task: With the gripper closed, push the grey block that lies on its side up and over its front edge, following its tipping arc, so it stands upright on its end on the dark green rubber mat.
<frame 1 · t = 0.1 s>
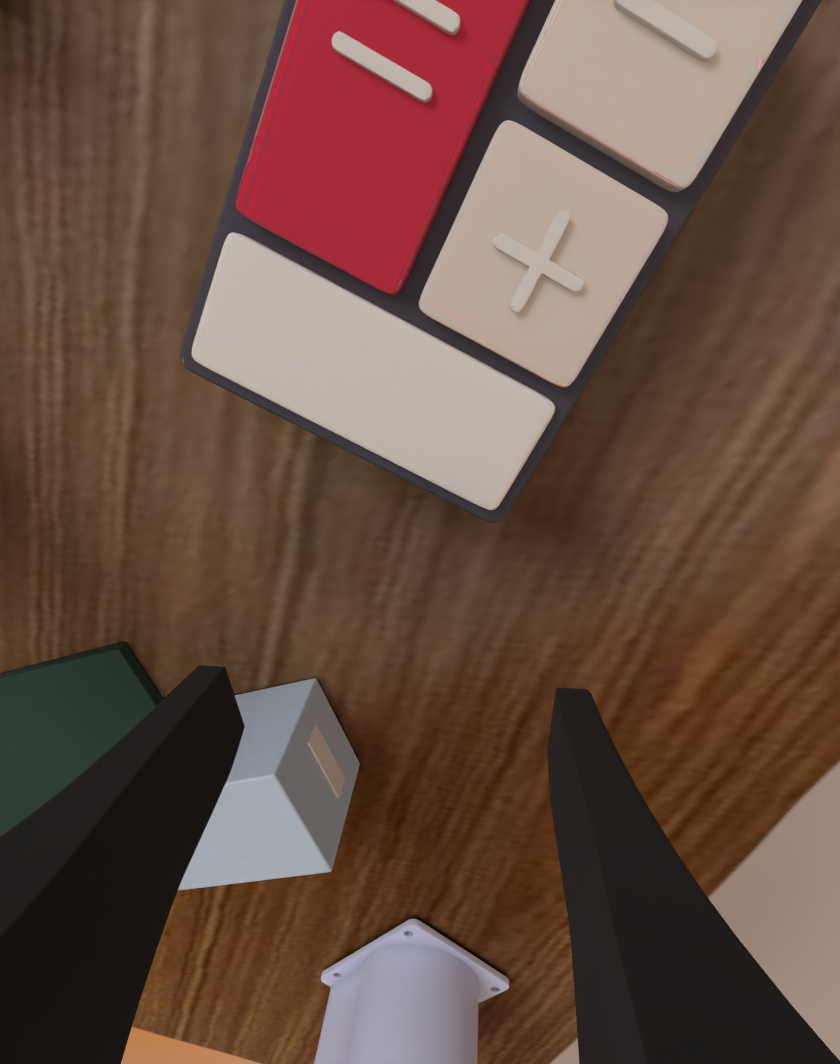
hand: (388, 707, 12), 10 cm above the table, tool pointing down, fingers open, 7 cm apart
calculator: (461, 211, 17), on the table
grey block: (244, 782, 25), point 3 cm above the table
rubber mat: (45, 778, 31), on the table
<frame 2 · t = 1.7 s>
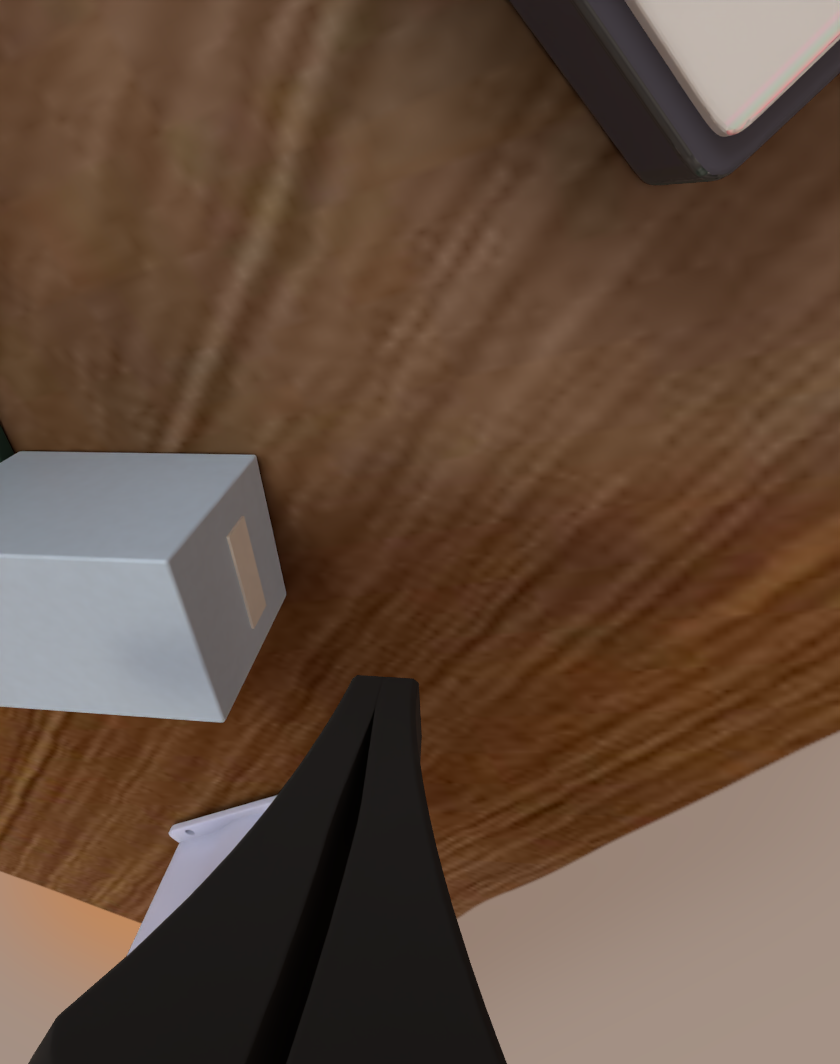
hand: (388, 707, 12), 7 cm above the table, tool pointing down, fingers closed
grey block: (114, 576, 16), point 3 cm above the table
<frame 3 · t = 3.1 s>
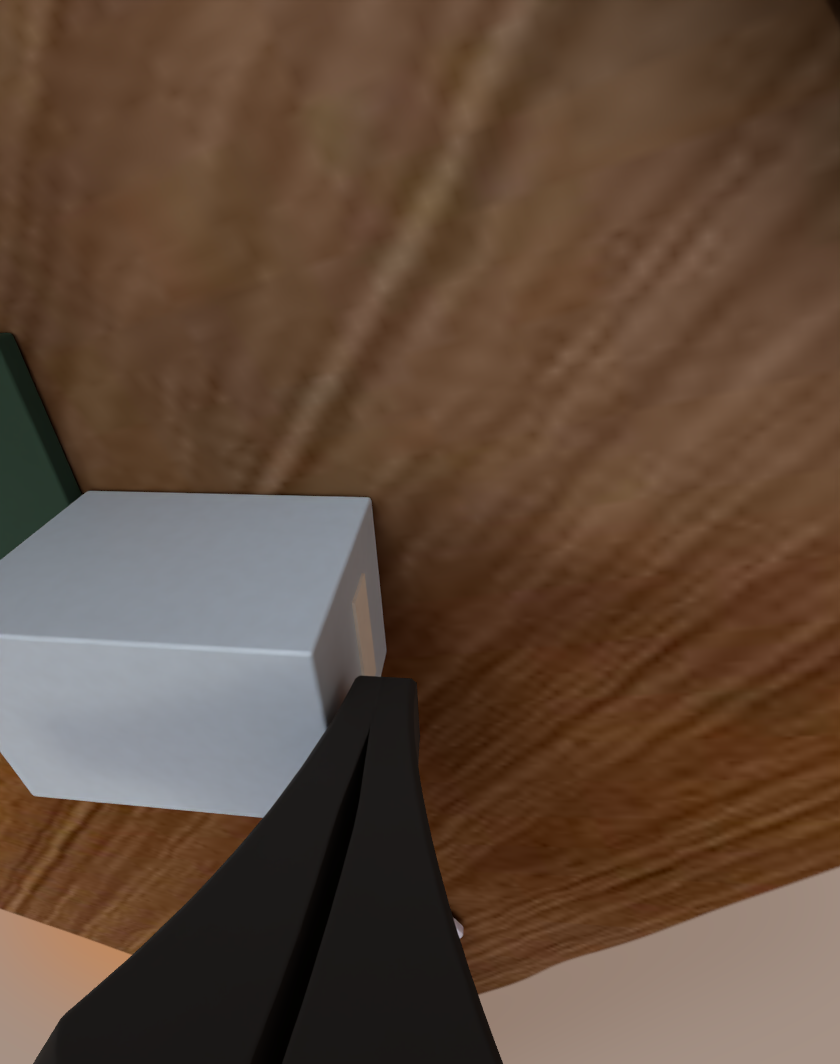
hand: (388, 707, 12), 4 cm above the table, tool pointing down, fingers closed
grey block: (205, 643, 14), point 3 cm above the table, touching gripper
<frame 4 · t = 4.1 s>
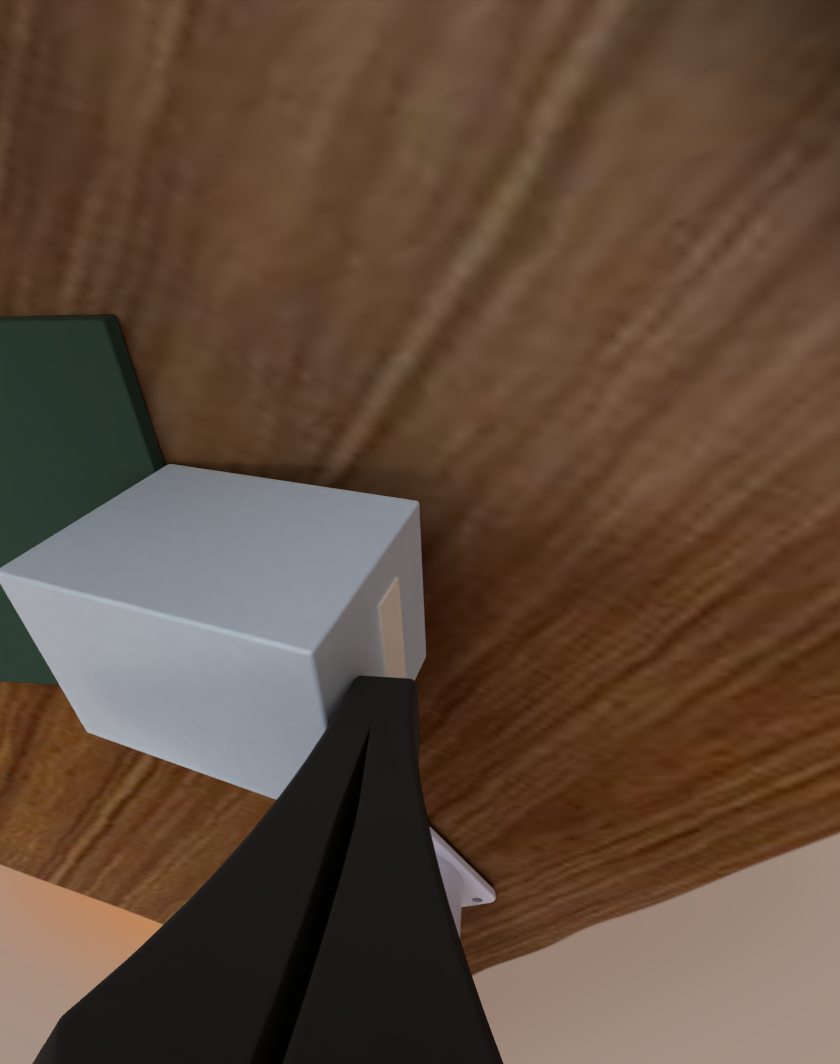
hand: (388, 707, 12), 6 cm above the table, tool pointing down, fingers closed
grey block: (246, 621, 15), point 4 cm above the table, tilted 14°, touching gripper, rubber mat
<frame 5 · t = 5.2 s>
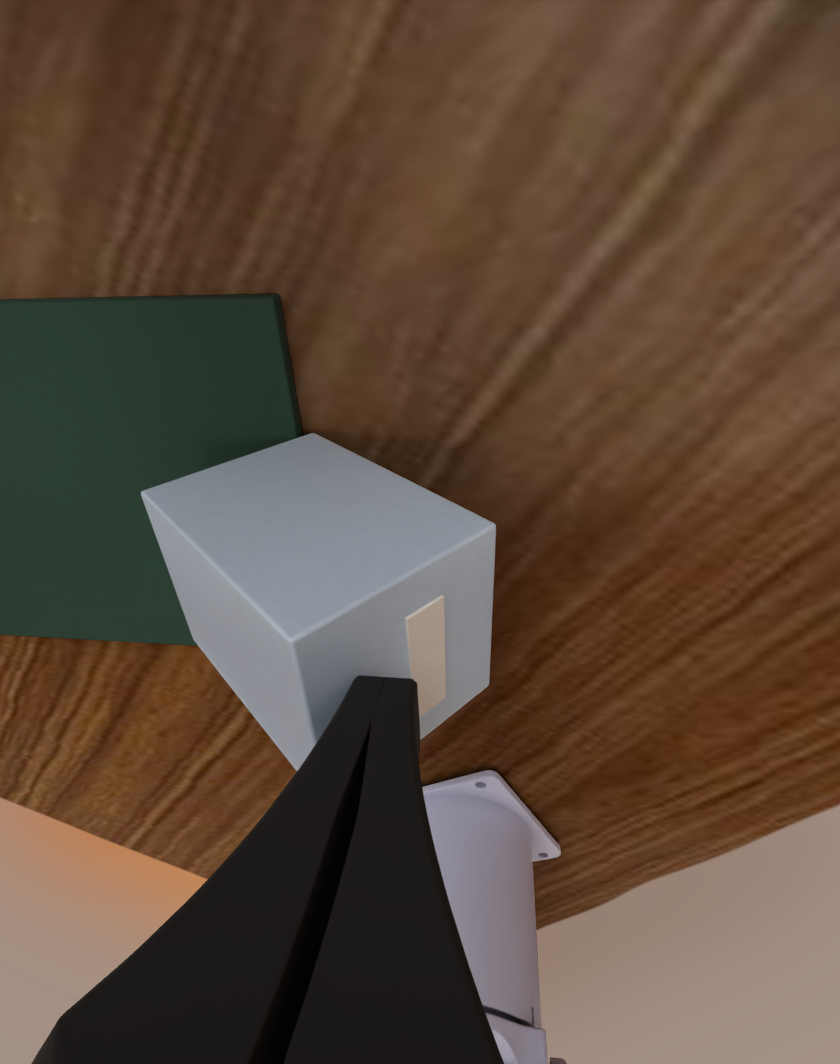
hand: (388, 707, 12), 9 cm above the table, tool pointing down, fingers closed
grey block: (320, 591, 15), point 5 cm above the table, tilted 42°, touching gripper, rubber mat
rubber mat: (59, 496, 21), on the table
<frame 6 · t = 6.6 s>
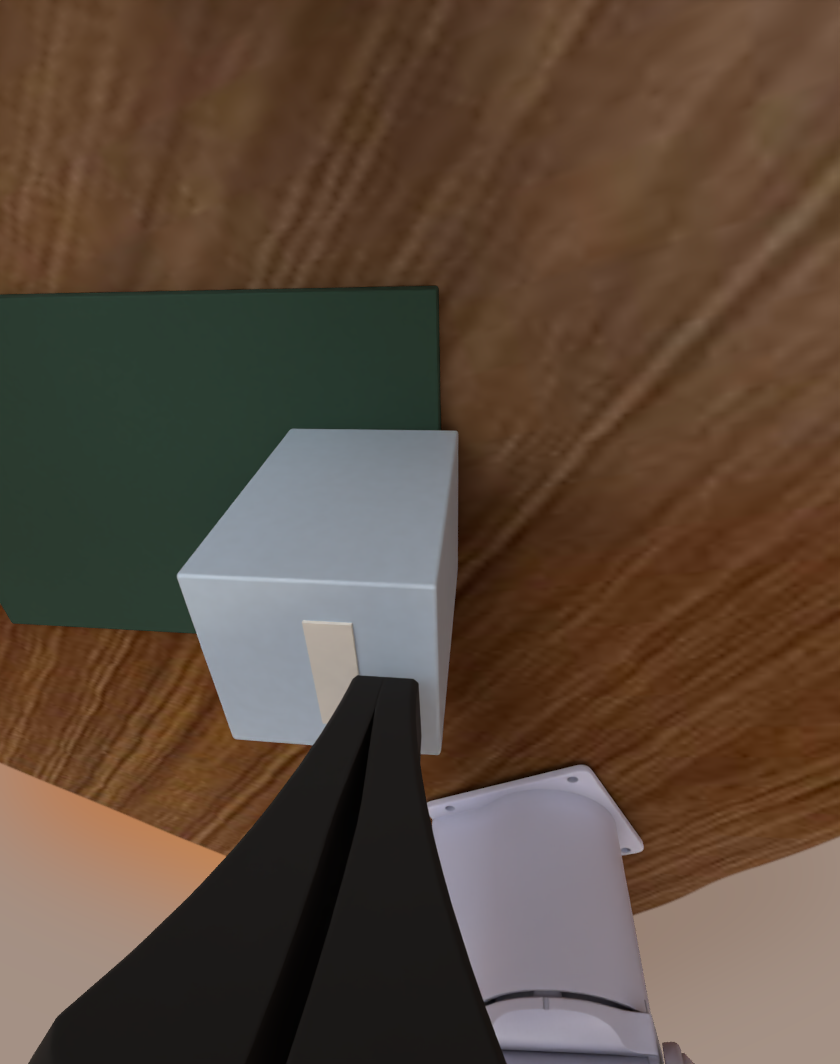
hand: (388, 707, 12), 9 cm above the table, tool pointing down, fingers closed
grey block: (355, 570, 16), point 5 cm above the table, tilted 90°, touching rubber mat
rubber mat: (180, 489, 21), on the table
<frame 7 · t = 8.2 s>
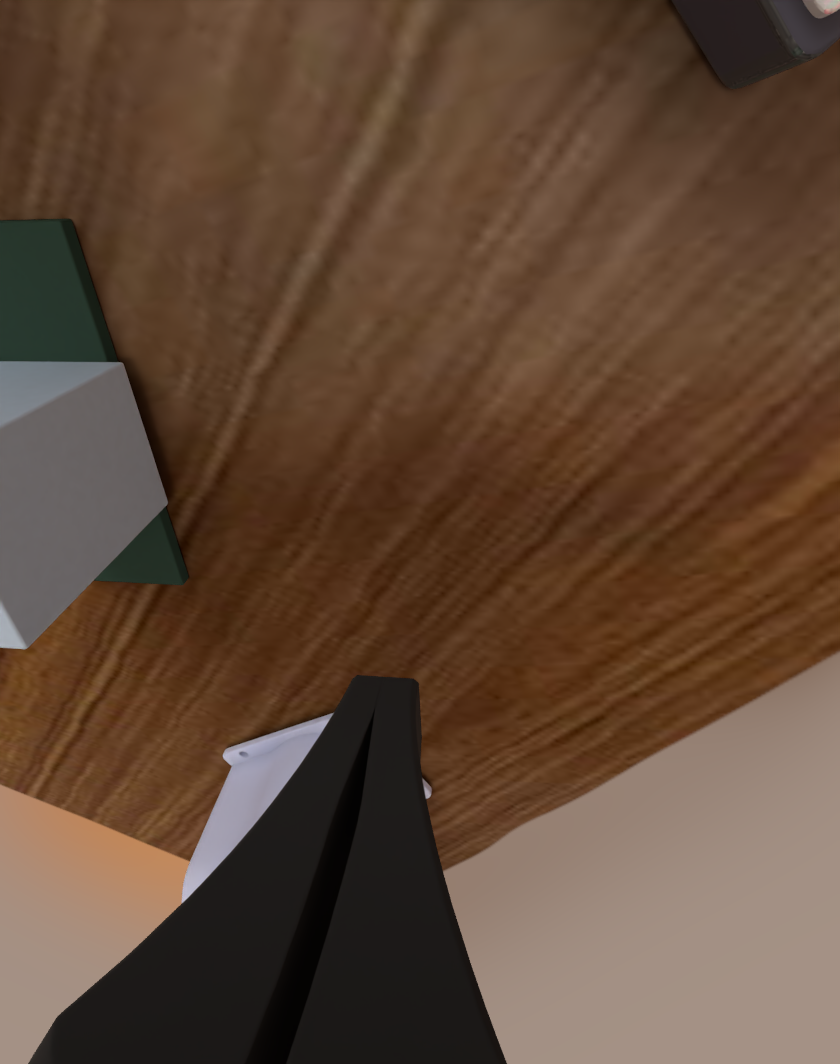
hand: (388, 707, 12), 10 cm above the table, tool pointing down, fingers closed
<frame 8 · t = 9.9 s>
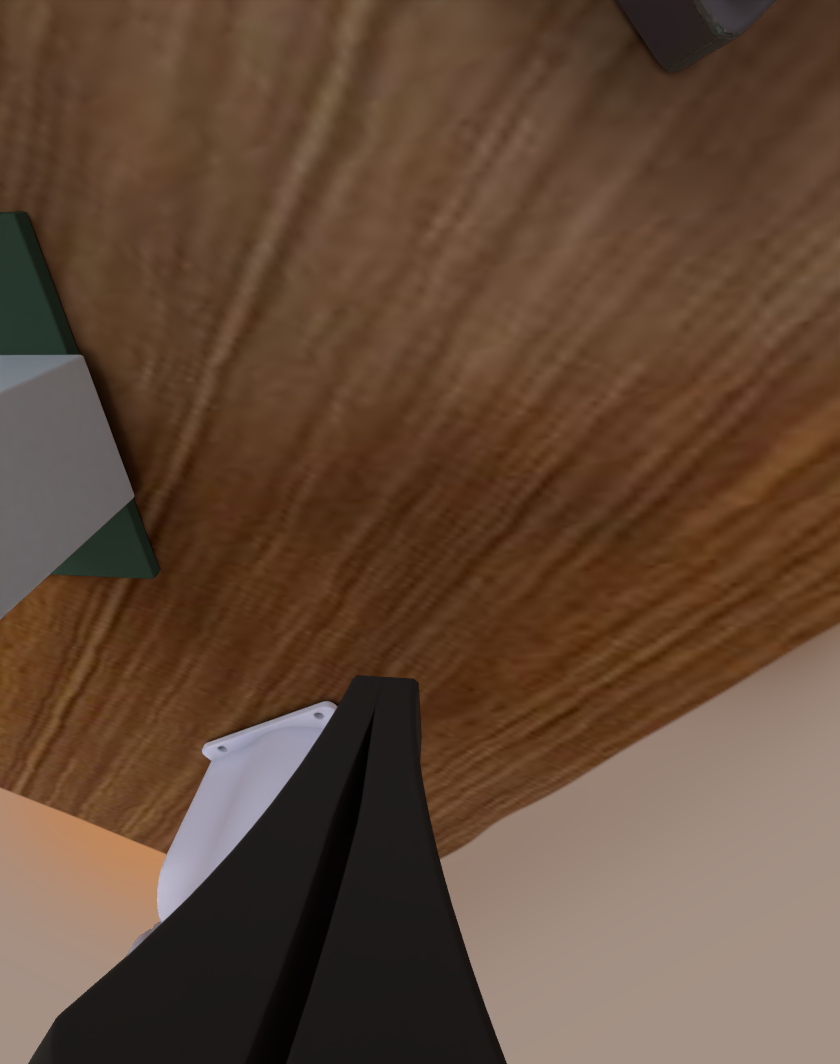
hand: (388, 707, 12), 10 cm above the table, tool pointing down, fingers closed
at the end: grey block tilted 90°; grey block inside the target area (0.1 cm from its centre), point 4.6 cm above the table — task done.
